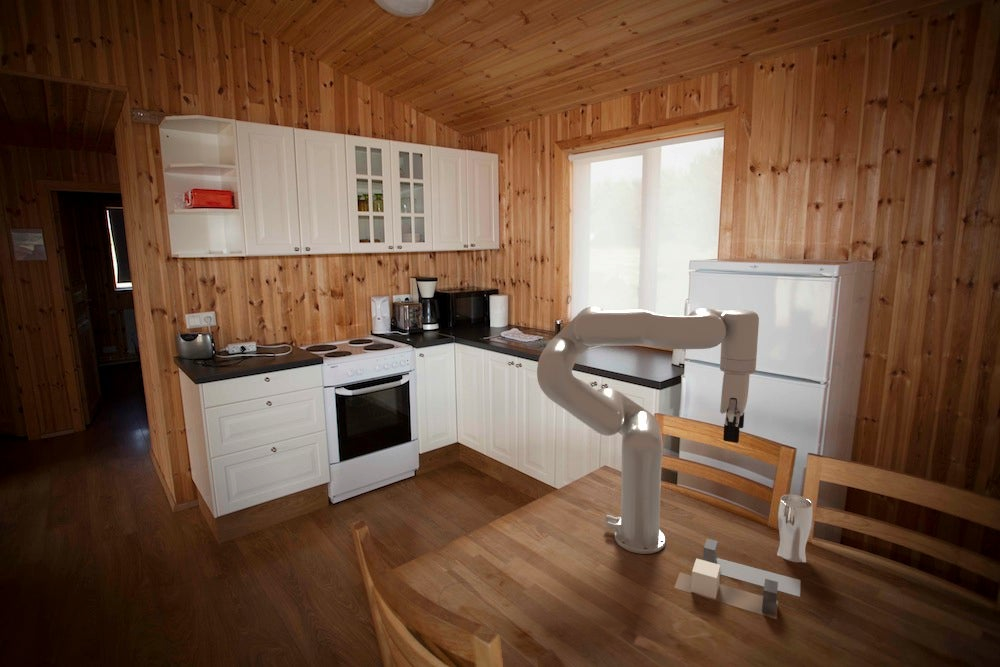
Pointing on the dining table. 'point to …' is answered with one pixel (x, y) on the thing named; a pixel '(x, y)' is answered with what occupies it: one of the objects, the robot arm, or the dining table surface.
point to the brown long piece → (740, 596)
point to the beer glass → (794, 527)
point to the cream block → (705, 578)
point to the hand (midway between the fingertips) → (733, 434)
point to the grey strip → (749, 571)
